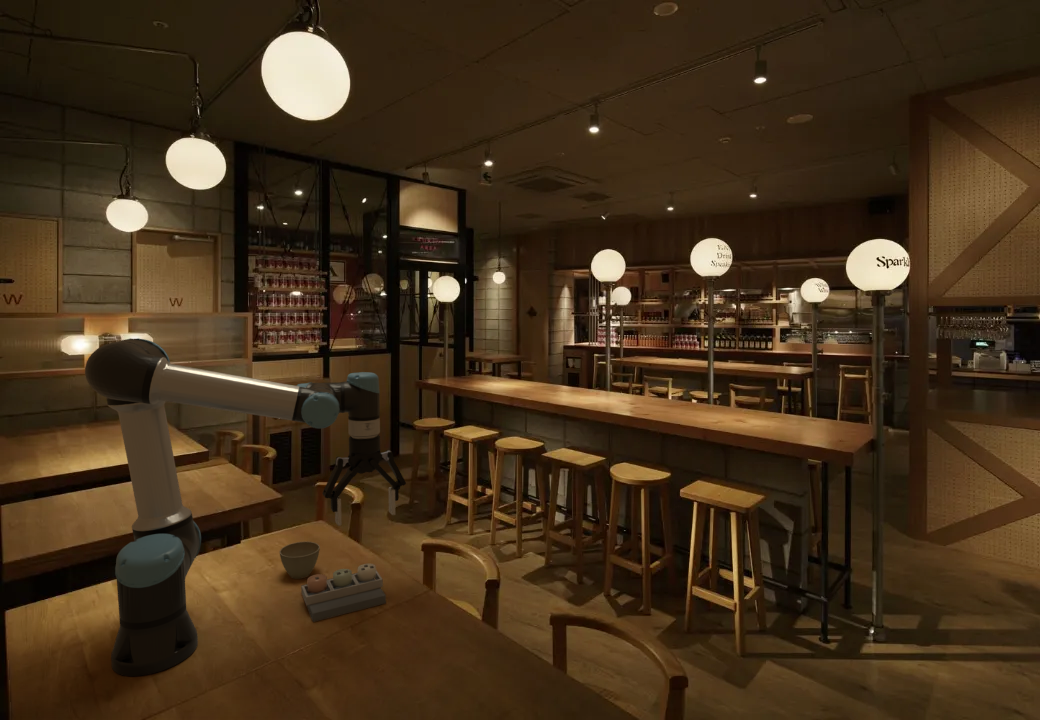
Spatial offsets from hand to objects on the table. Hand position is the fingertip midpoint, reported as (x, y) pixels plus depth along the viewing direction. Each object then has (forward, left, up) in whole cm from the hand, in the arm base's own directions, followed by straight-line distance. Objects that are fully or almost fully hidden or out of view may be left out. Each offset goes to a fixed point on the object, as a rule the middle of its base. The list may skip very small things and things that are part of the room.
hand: (365, 518), depth 145 cm
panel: (-6, -1, -19) cm, 20 cm away
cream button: (0, -1, -15) cm, 15 cm away
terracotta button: (-12, -1, -15) cm, 19 cm away
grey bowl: (-13, +17, -19) cm, 29 cm away
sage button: (-6, -1, -15) cm, 16 cm away
